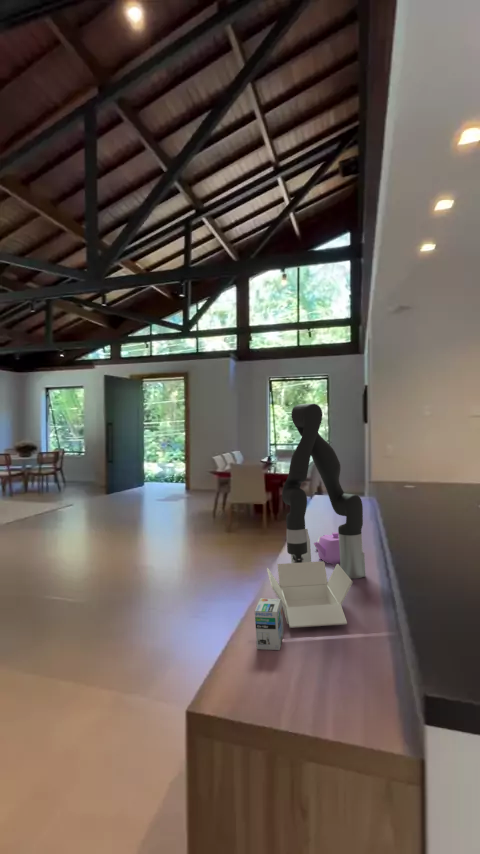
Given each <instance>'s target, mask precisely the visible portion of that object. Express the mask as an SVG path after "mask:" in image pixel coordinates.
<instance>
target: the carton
mask: <svg viewBox="0 0 480 854" xmlns="http://www.w3.org/2000/svg"><path fill="white" fill-rule="evenodd" d="M325 563H326V562H324V561H322V560H321V561H311V562H303V563H291V562H289V563H277V573H278V574H277V575H278V580H277V579H276V578H275V577H274V575H273V573H272V572H271V570H270V569H269V567H267V568H266V571H267V574H268V578H269V582H270V587H271V589H272V590H273V592H274V593H275V595H276V597H277V599H282V612H283V615H284V618H285V620H286V624H288V626H289V628H293V629H294V628H308V627H321V626H324V627H325V626H326V627H327V626H340V625H341V626H342V625H348V621H347V618H346V615H345V613H344V610H343V607H342V605H343V603H344V601H345V599H346V597H347V595H348V592H349V591H350V589H351V586H352V585H353V583H354V582H353V579H351V578H349V577H348V575H347V574H346V573H345V572H344V571H343V569H342V568H341V567H340V563H338V564H335V567H334V568H333V570H332V573H331V575H330V577H329V579H328V577H327V570H326V569H327V568H326V564H325Z"/></svg>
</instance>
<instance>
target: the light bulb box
mask: <svg viewBox="0 0 480 854" xmlns="http://www.w3.org/2000/svg"><path fill="white" fill-rule="evenodd" d="M283 617H284V613H283V607H282V599H279V598H261V597H260V599H259V600H258V603H257V605H256V607H255V610H254V622H255V639H256V649H257V650H264V651H265V650H267V651H268V650H269V651H280V650H281V646H282V643H283V639H284V638H283V637H284V634H285V633H284V618H283Z"/></svg>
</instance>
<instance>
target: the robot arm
mask: <svg viewBox="0 0 480 854" xmlns="http://www.w3.org/2000/svg"><path fill="white" fill-rule="evenodd" d="M290 414H291V420H292V423H293V425H294V427H295V428H296V431H298V433H299V435H300V436H301V439H300V440H299V442H298V445H297V446H296V448H295V450H294V451H293V454H292V456H291V459H290V464H289V469H288V475H287V478H286V479H285V482H284V485H283V489H282V492H281V498H282V501H283V503H284V504H285V505H288V506H290V508H289V509H290V510H289V512H288V513H287V514H286V516H285V517H286V518H285V519H286V523H285V524H286V551H287V553H288V555H290V556H291V555H292V562H293V563H303V562H304V559H303V557H302V555H303V554H306V553H307V536H306V529H307V528H306V518H305V517H306V512H307V507H308V496H307V493H306V491H305V490H304V489H302V488H301V486H302V483H304V482H305V481H307V478H308V473H309V467H310V461H311V459H312V460H313V463H314V465H315V467H316V470H317V472H318V474H319V476H320V478H321V480H322V483H323V485H324V488H325V490H326V492H327V496H328V498H329V501H330V504H331V507H332V509H333V511H334V512H335V514H337V515H338V516H340V517H341V516H342V517H346V518H345V523H344V524H340V525H339V526H338V528H337V532H338V533H339V550H340V563H339V566H340V567H341V568H342V569H343V571H344V572H345V573H346V574H347V575H348V577H349V578H350V579H351V580H353V579H361V578H365V577H366V562H365V560H366V559H365V552H364V551H363V536H362V535H363V534H362V529H363V526H364V525H363V523H364V517H363V516H364V515H363V513H364V506H363V501H362V499H361V497H360V496H359V495H357V494H354V493H353V494H352V493H346V492H345V491H344V490H343V488H342V485H341V483H340V476H341V475H340V474H341V462H340V461H339V458H338V456H337V453H336V451H335V449H334V448H333V447H332V446H331V444H329V442H327V441H326V439H324V438H323V436H322V435H320V433H319V431H320V428H321V427H320V426H321V423H322V420H323V410H322V408H321V407H320V405H318V404H317V403H301V404H299V403H298V404H296V405H295V406H293V408H292V410H291V413H290Z"/></svg>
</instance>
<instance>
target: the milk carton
mask: <svg viewBox="0 0 480 854" xmlns="http://www.w3.org/2000/svg"><path fill="white" fill-rule="evenodd" d="M305 529H306V536H307V553H306V554H303V555H302V557H303V559H304V562H312V553H311V538H310V535H309V534H310V533H309V530H308V528H305ZM290 563H293V562H292V555H291V554H290Z"/></svg>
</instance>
